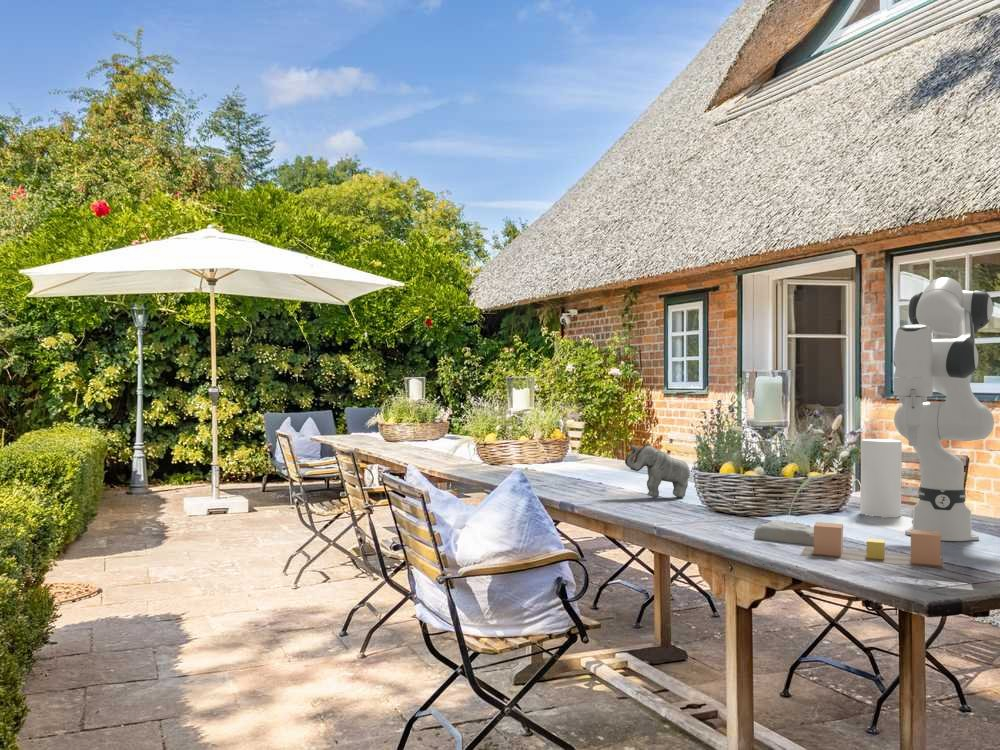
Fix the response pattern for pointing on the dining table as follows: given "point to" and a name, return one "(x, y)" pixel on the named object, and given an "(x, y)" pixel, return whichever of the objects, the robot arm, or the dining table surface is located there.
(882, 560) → the board
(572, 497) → the dining table surface
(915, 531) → the wooden block
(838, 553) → the peach block
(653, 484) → the grey animal figurine
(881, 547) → the cube
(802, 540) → the stone
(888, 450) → the cylinder
